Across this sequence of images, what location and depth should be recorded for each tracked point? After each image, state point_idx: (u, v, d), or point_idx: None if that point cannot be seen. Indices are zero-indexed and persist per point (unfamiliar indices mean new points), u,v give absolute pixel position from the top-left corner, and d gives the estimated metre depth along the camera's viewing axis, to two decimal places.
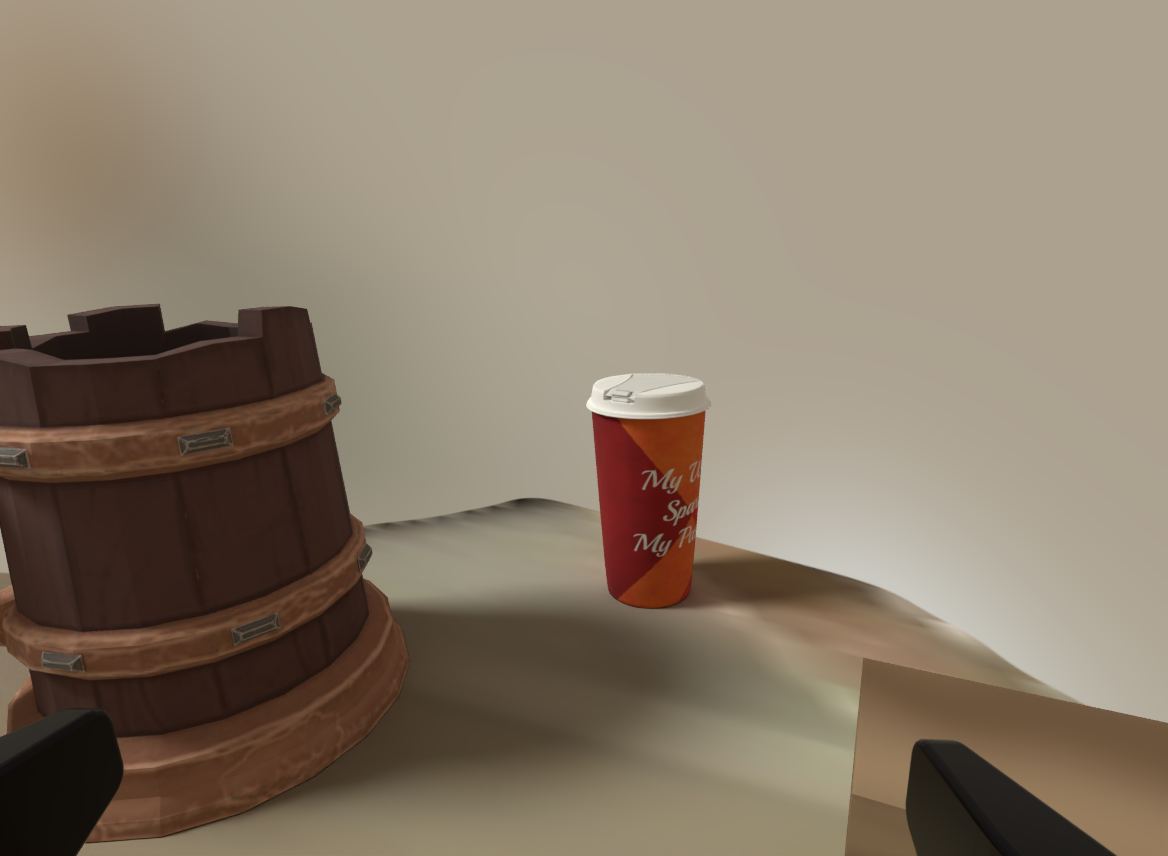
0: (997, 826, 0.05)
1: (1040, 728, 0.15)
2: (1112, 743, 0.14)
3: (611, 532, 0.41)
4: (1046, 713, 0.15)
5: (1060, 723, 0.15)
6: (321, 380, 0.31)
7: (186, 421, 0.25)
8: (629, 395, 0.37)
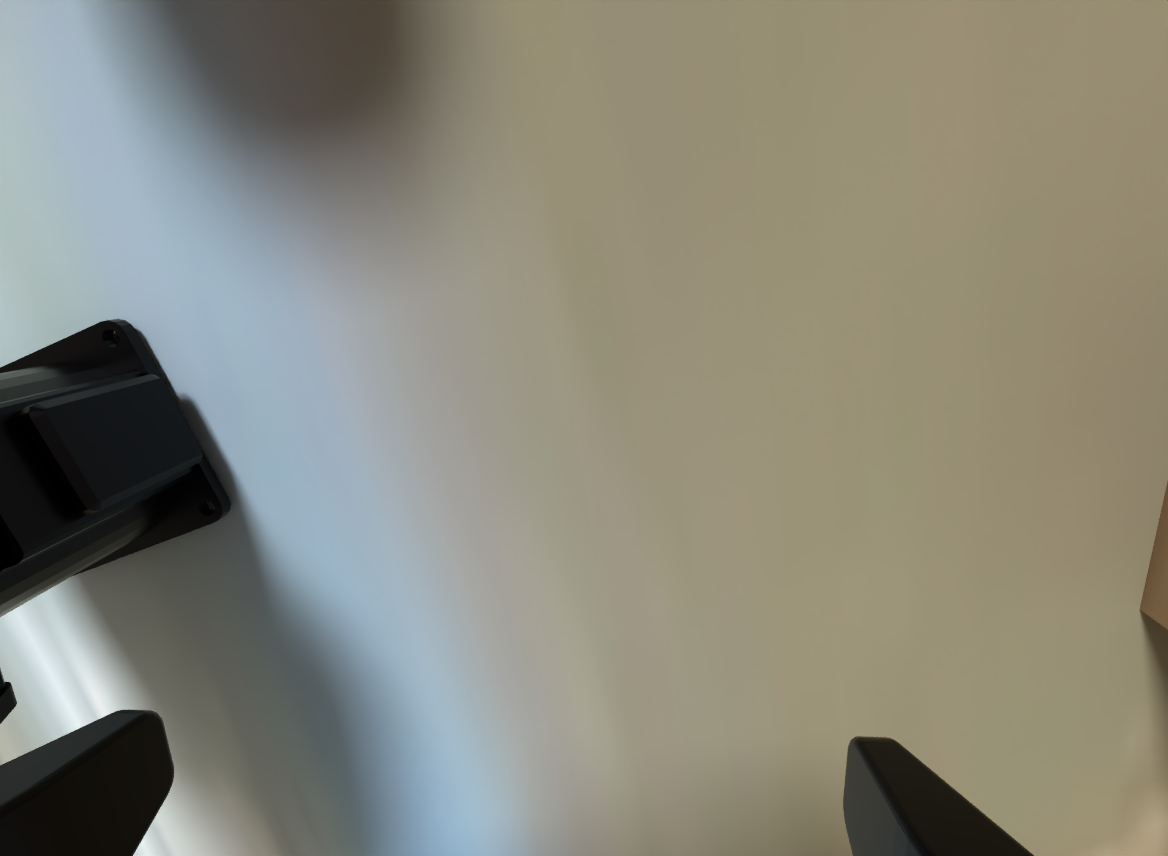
0: (915, 822, 0.05)
1: None
2: None
3: None
4: None
5: None
6: None
7: None
8: None
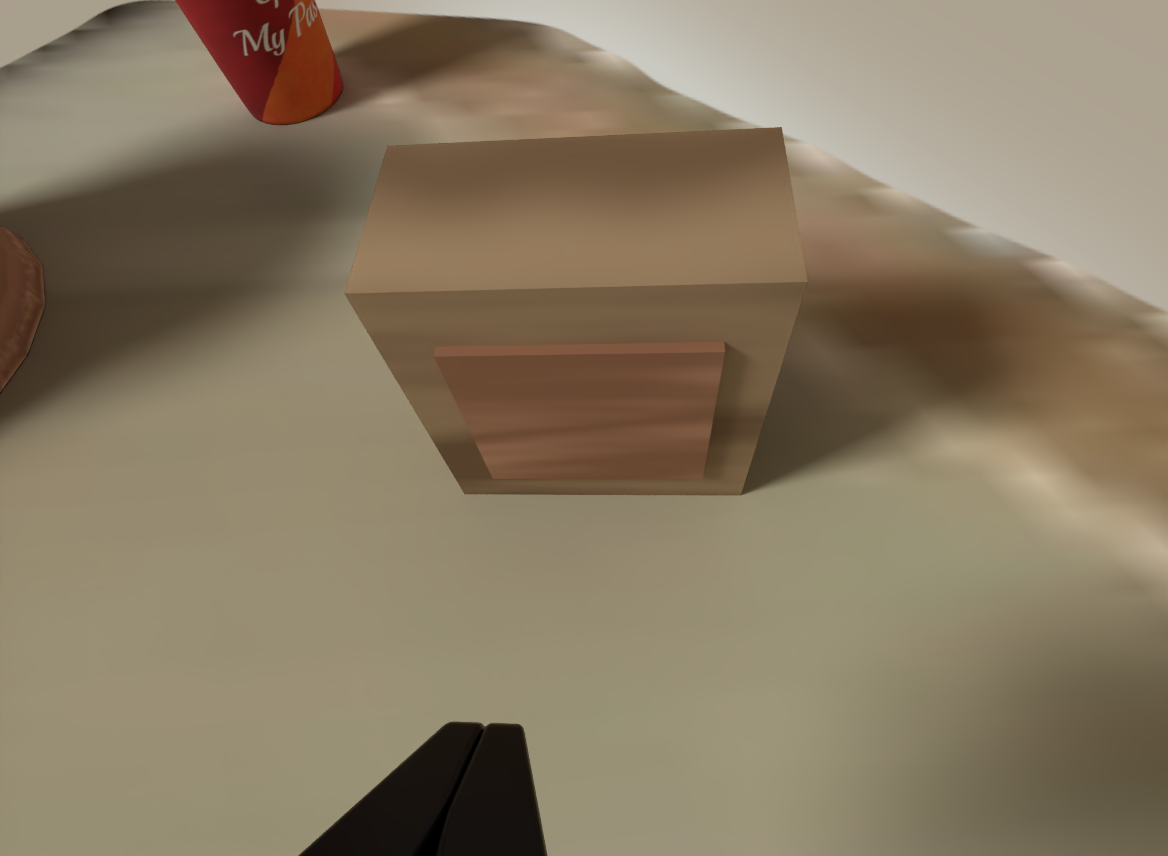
0: (462, 800, 0.06)
1: (528, 174, 0.16)
2: (583, 170, 0.16)
3: (206, 36, 0.32)
4: (539, 156, 0.16)
5: (548, 163, 0.16)
6: None
7: None
8: None
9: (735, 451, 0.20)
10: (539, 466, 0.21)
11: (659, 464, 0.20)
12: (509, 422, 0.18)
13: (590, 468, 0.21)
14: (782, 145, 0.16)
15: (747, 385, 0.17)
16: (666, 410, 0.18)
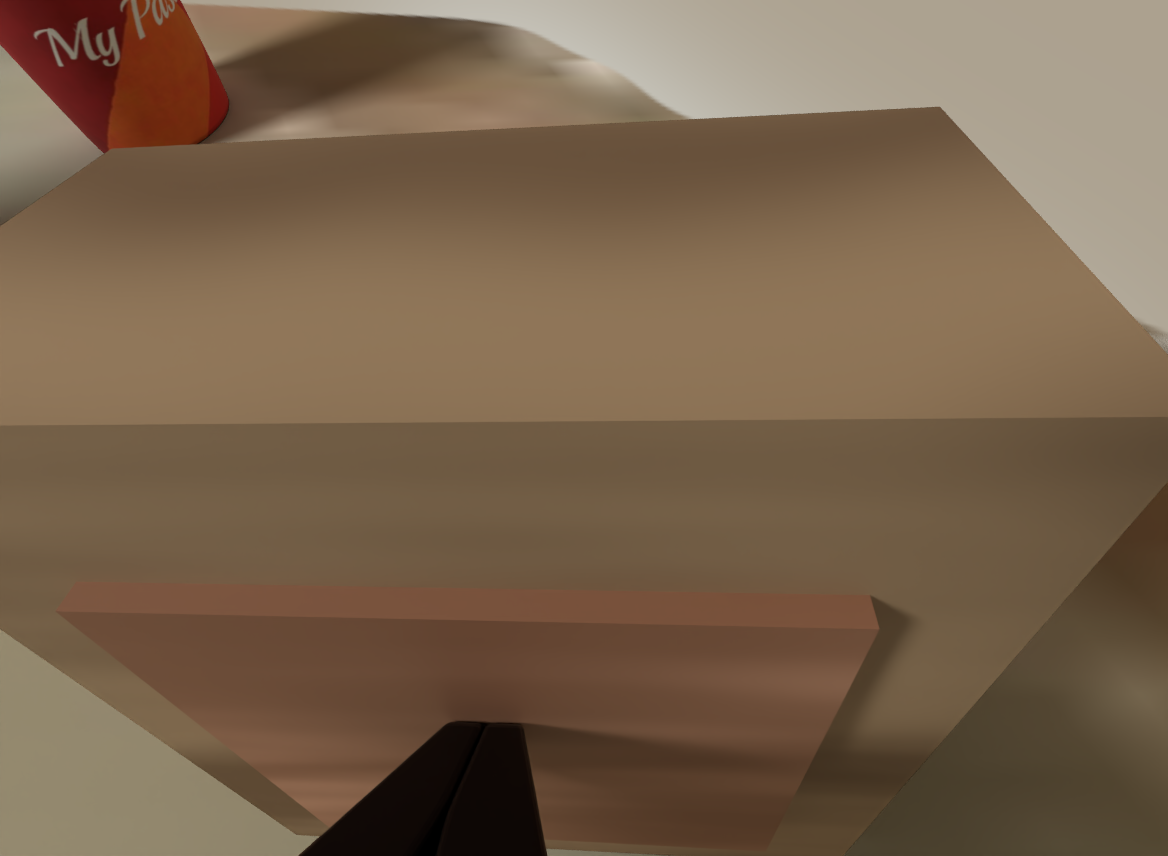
0: (462, 800, 0.06)
1: (373, 181, 0.07)
2: (497, 174, 0.07)
3: None
4: (407, 155, 0.07)
5: (423, 165, 0.07)
6: None
7: None
8: None
9: (842, 806, 0.09)
10: None
11: (674, 827, 0.09)
12: (322, 747, 0.08)
13: None
14: (956, 130, 0.07)
15: (905, 695, 0.07)
16: (694, 744, 0.07)
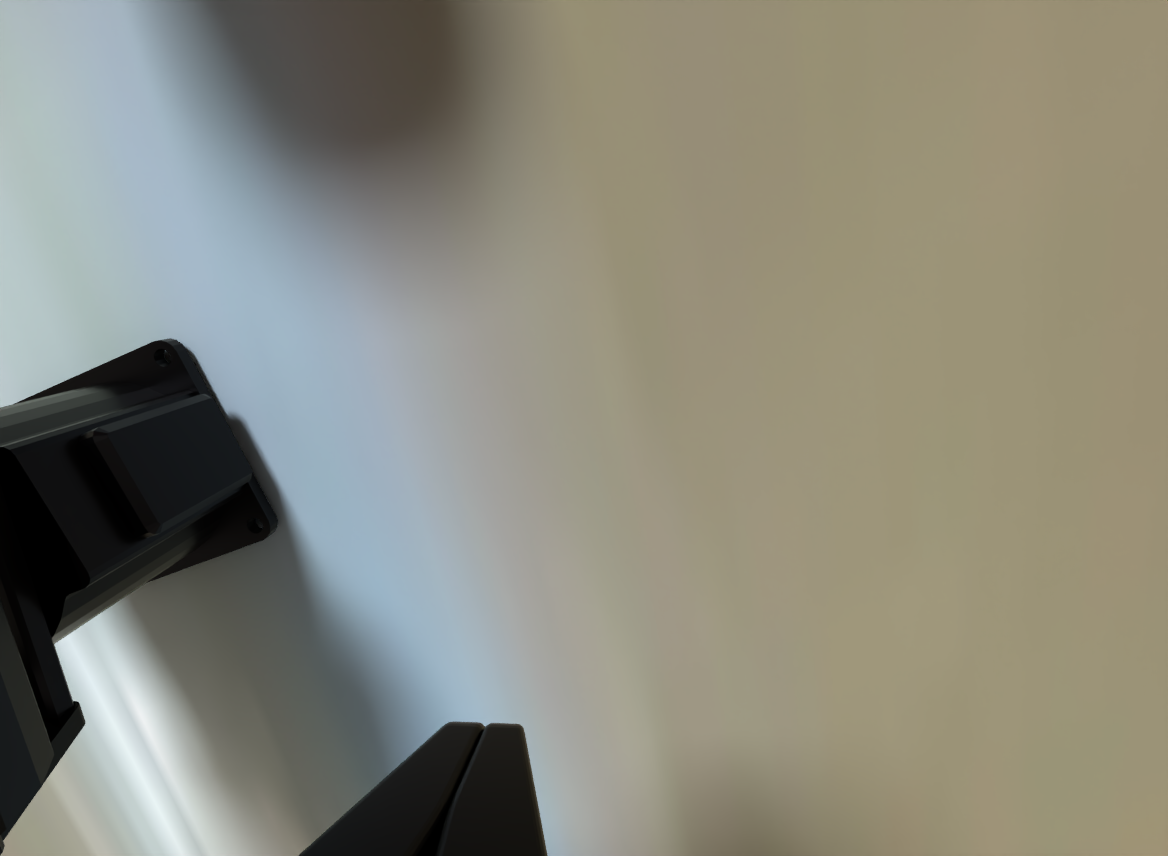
0: (462, 800, 0.06)
1: None
2: None
3: None
4: None
5: None
6: None
7: None
8: None
9: None
10: None
11: None
12: None
13: None
14: None
15: None
16: None
